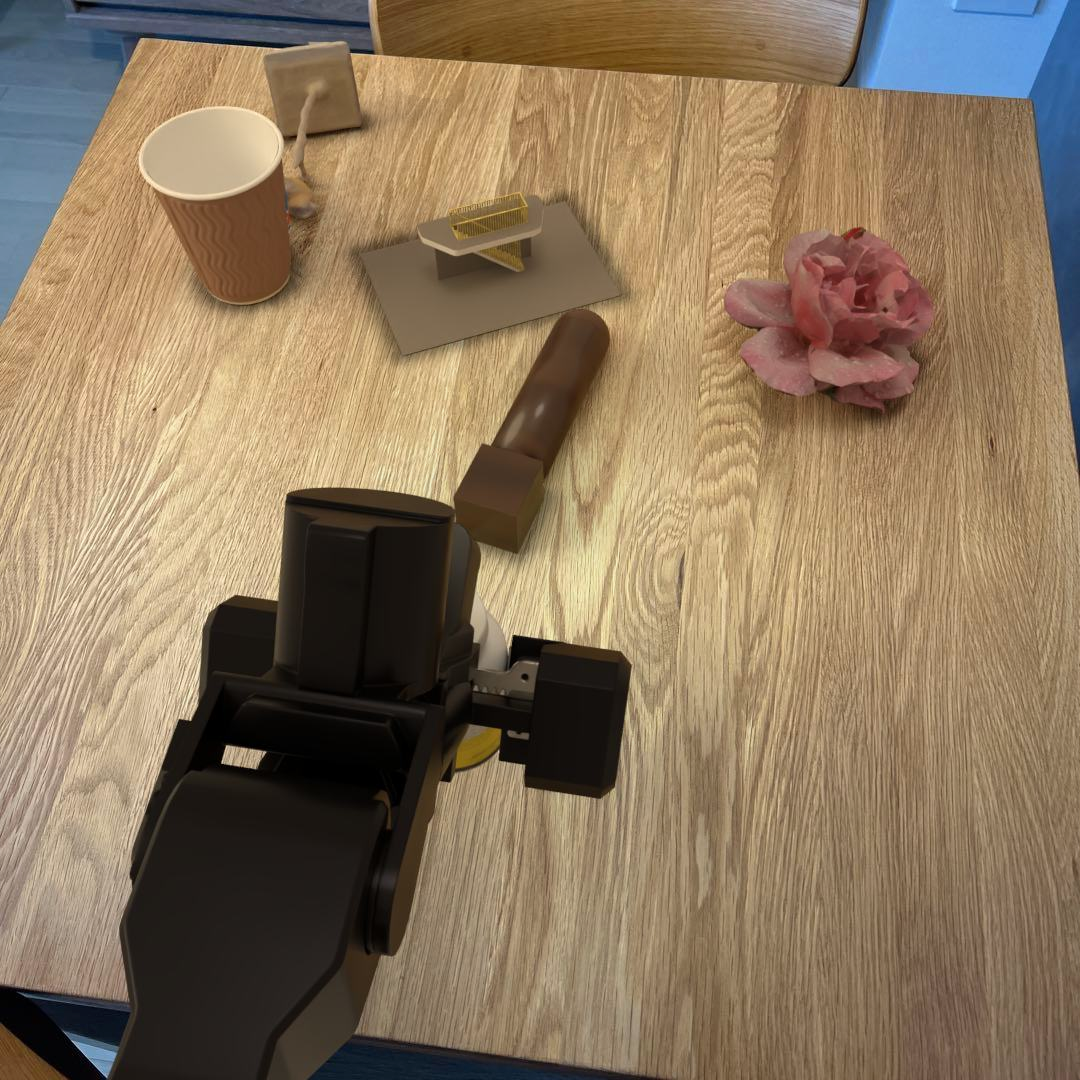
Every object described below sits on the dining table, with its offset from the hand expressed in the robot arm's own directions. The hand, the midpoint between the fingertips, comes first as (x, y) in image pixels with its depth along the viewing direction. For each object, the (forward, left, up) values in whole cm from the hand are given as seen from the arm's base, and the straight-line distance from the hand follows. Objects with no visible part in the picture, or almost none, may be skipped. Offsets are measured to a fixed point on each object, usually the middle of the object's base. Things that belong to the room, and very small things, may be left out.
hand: (451, 644), depth 58 cm
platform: (+38, +14, -13) cm, 42 cm away
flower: (+38, -13, -13) cm, 42 cm away
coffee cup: (+31, +32, -13) cm, 46 cm away
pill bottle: (-1, 0, -7) cm, 7 cm away
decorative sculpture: (+44, +35, -13) cm, 58 cm away
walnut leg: (+24, +4, -12) cm, 27 cm away
